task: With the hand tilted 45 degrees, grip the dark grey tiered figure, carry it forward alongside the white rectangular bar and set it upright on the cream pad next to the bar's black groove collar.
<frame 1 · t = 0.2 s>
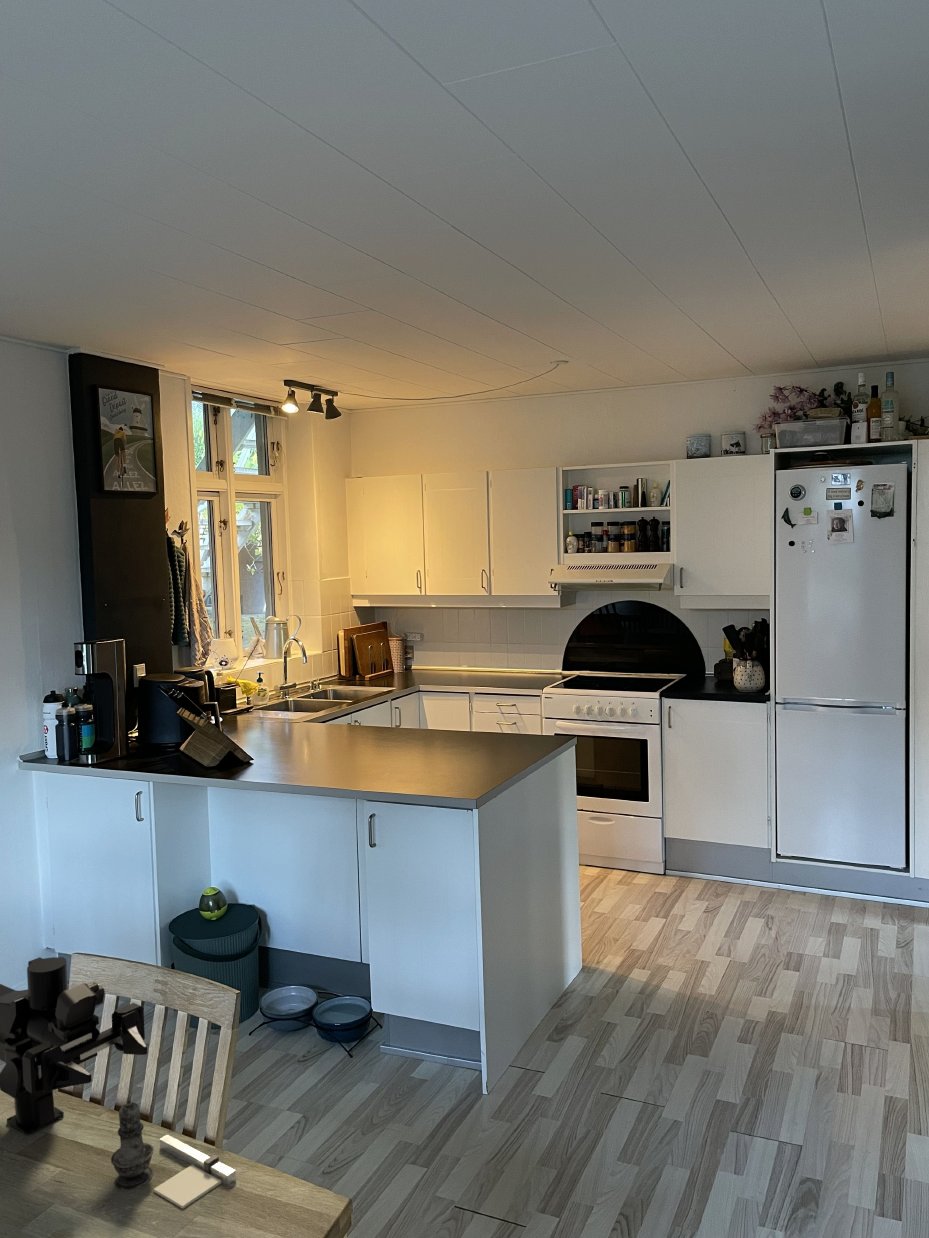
hand: (119, 1064, 142), 17 cm above the table, tool horizontal, fingers open, 9 cm apart
dark grey tiered figure: (134, 1179, 142), on the table
white rectangular bar: (196, 1163, 145), on the table
groove pad: (187, 1187, 139), on the table
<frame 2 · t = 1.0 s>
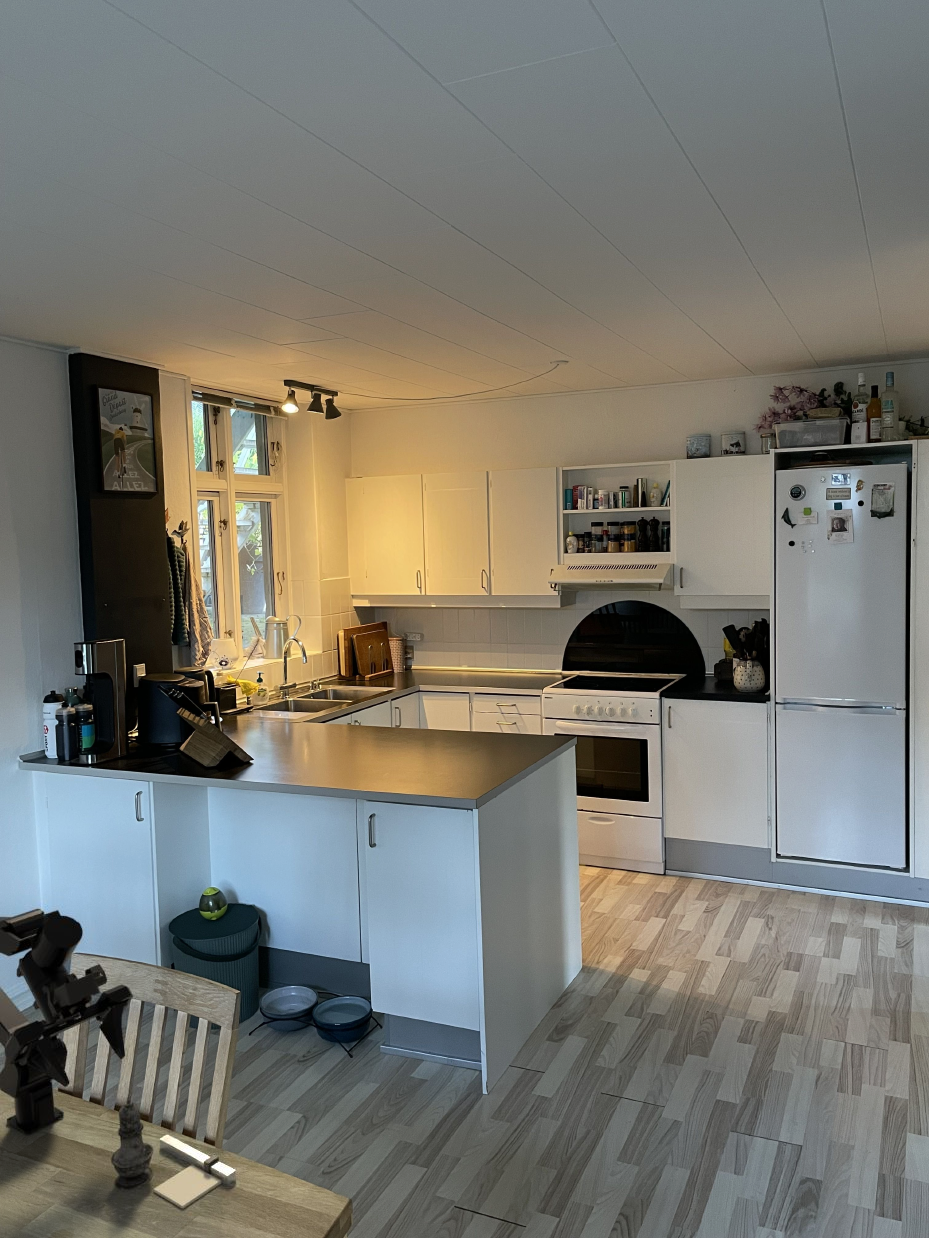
hand: (96, 1070, 146), 14 cm above the table, tool tilted 45°, fingers open, 9 cm apart
nothing on the table moved.
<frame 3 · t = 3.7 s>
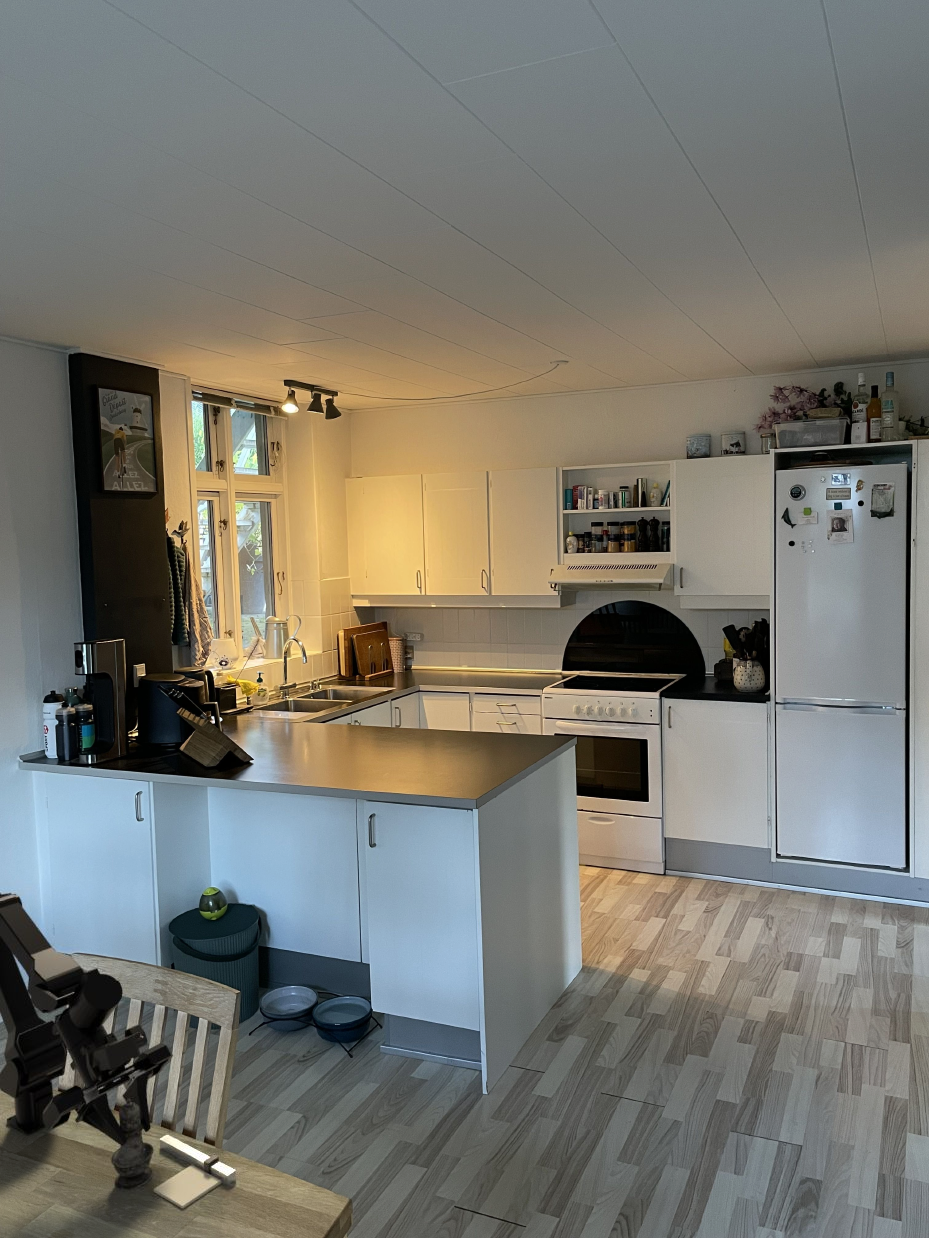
hand: (136, 1137, 141), 7 cm above the table, tool tilted 45°, fingers closed on dark grey tiered figure, 4 cm apart
dark grey tiered figure: (134, 1179, 142), on the table, touching gripper
when the fingers open (8 cm above the table, at t = 7.0 s): dark grey tiered figure drops 1 cm, resting on groove pad.
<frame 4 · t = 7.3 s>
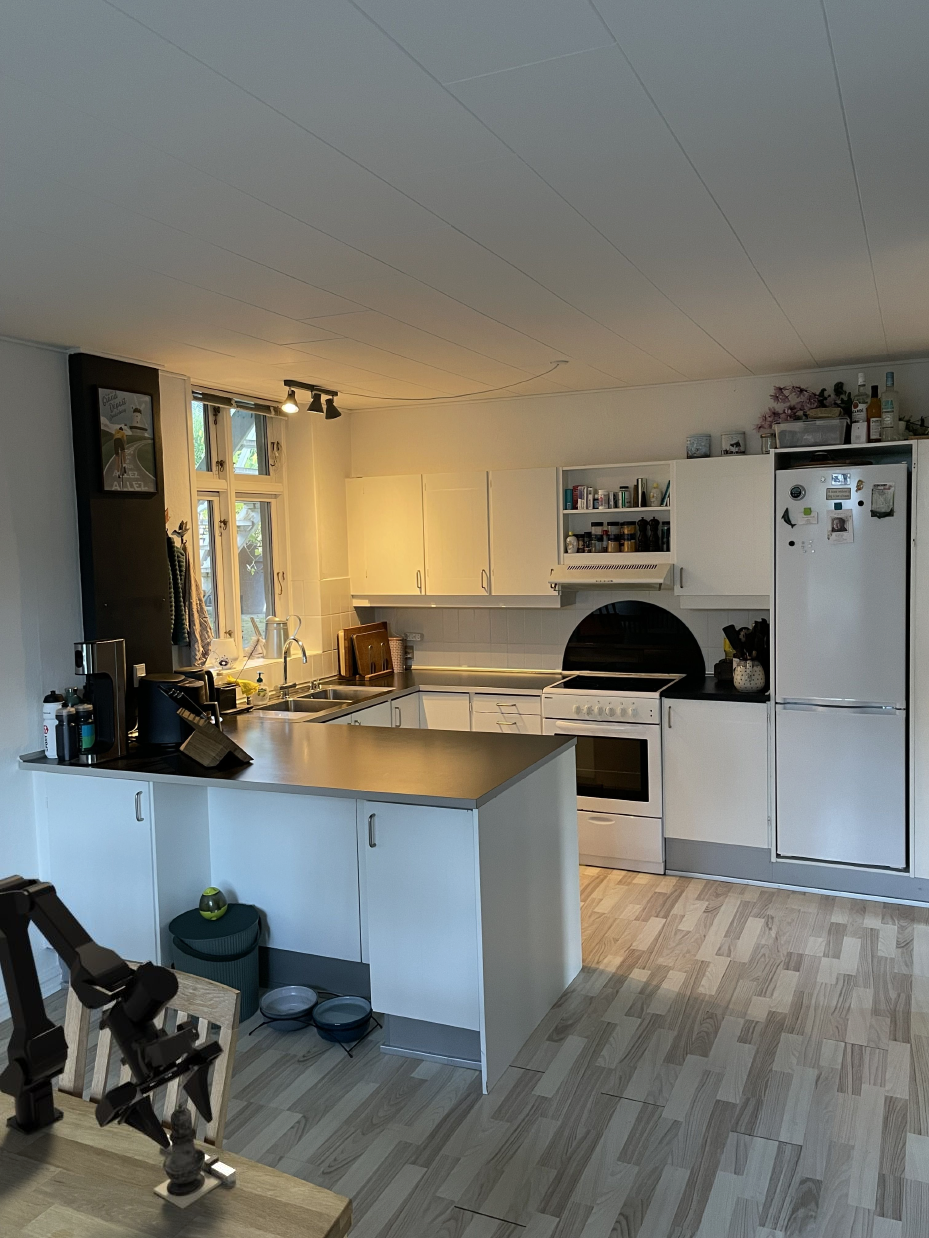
hand: (190, 1133, 138), 8 cm above the table, tool tilted 45°, fingers open, 7 cm apart
dark grey tiered figure: (186, 1185, 140), resting on groove pad
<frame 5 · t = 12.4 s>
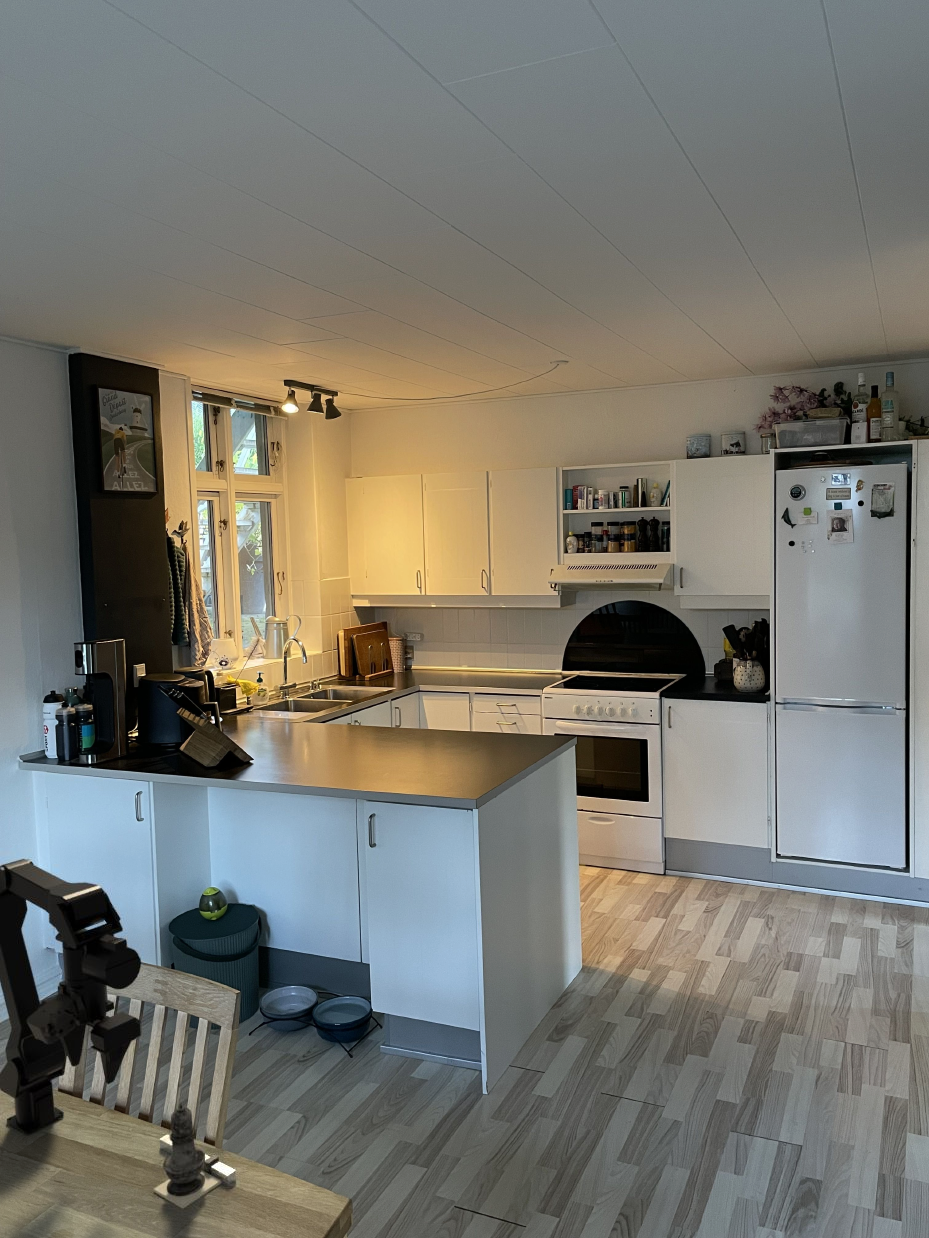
hand: (92, 1073, 147), 13 cm above the table, tool pointing down, fingers open, 9 cm apart
nothing on the table moved.
at the end: dark grey tiered figure 0.3 cm from the groove pad (horizontally); dark grey tiered figure tilted 0°; the gripper is holding nothing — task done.
